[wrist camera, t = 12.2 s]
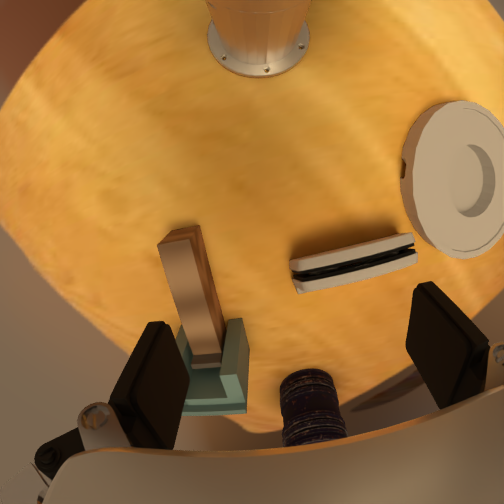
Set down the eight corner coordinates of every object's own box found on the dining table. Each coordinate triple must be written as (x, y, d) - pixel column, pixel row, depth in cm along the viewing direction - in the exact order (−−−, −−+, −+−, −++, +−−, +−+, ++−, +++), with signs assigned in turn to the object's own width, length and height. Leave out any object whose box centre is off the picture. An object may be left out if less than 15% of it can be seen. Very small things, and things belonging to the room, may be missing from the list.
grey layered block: (294, 293, 40) (298, 306, 30) (287, 260, 40) (288, 263, 30) (402, 265, 39) (434, 269, 29) (396, 233, 39) (427, 229, 29)
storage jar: (268, 384, 47) (269, 455, 33) (316, 359, 44) (333, 430, 30) (297, 410, 49) (304, 474, 35) (342, 388, 47) (360, 453, 33)
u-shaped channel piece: (181, 325, 43) (157, 385, 30) (242, 318, 42) (236, 381, 29) (192, 354, 45) (174, 415, 32) (249, 349, 44) (246, 413, 31)
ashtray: (458, 76, 28) (473, 72, 25) (516, 190, 34) (531, 194, 30) (367, 165, 34) (379, 167, 31) (443, 277, 40) (456, 288, 36)
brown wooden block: (171, 230, 38) (151, 250, 30) (199, 225, 37) (185, 244, 30) (202, 334, 43) (192, 368, 36) (227, 331, 43) (221, 366, 35)
